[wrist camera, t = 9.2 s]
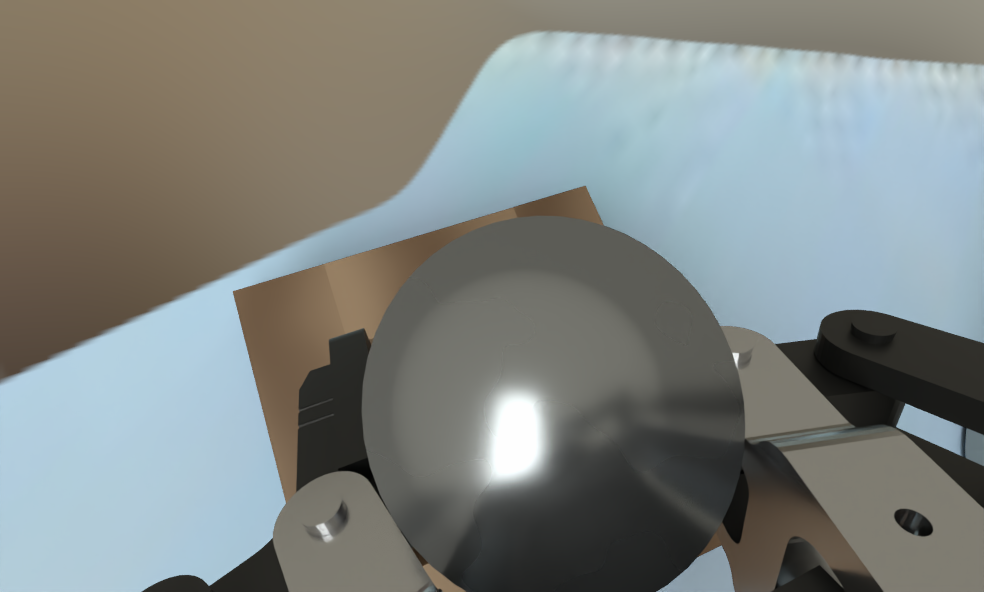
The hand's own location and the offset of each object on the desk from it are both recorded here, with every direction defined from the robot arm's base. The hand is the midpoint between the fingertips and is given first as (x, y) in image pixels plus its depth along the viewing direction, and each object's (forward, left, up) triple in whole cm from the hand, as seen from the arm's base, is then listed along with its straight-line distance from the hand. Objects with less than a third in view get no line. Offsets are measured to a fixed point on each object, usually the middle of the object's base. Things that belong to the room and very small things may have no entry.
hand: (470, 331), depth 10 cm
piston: (0, +2, -4) cm, 4 cm away
